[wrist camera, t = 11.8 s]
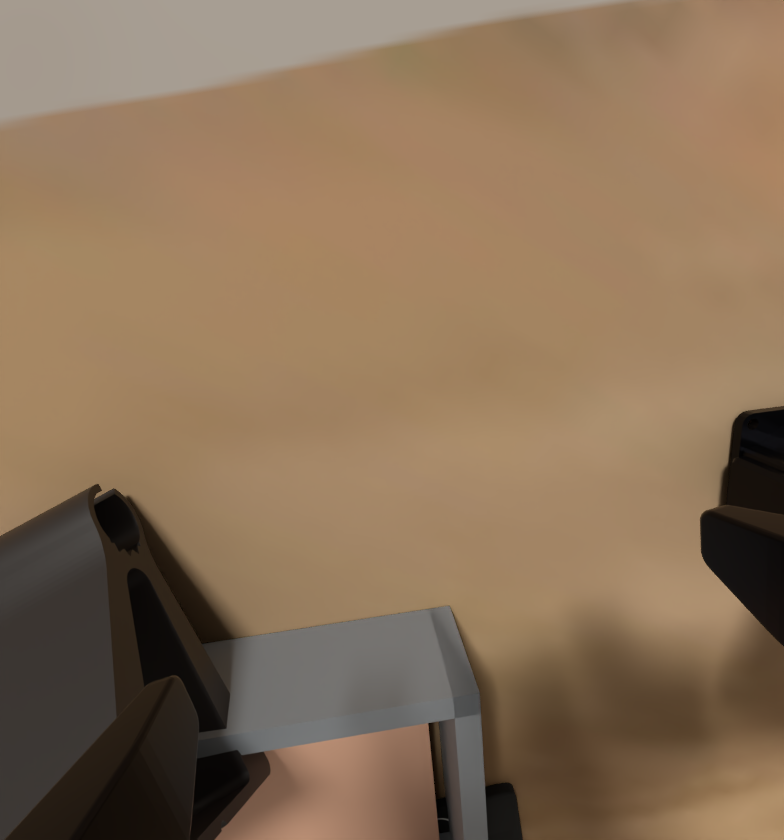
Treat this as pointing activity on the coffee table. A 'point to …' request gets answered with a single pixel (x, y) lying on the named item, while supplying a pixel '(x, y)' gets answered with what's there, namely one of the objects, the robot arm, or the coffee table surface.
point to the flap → (345, 791)
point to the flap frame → (359, 695)
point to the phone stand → (97, 655)
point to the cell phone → (492, 813)
